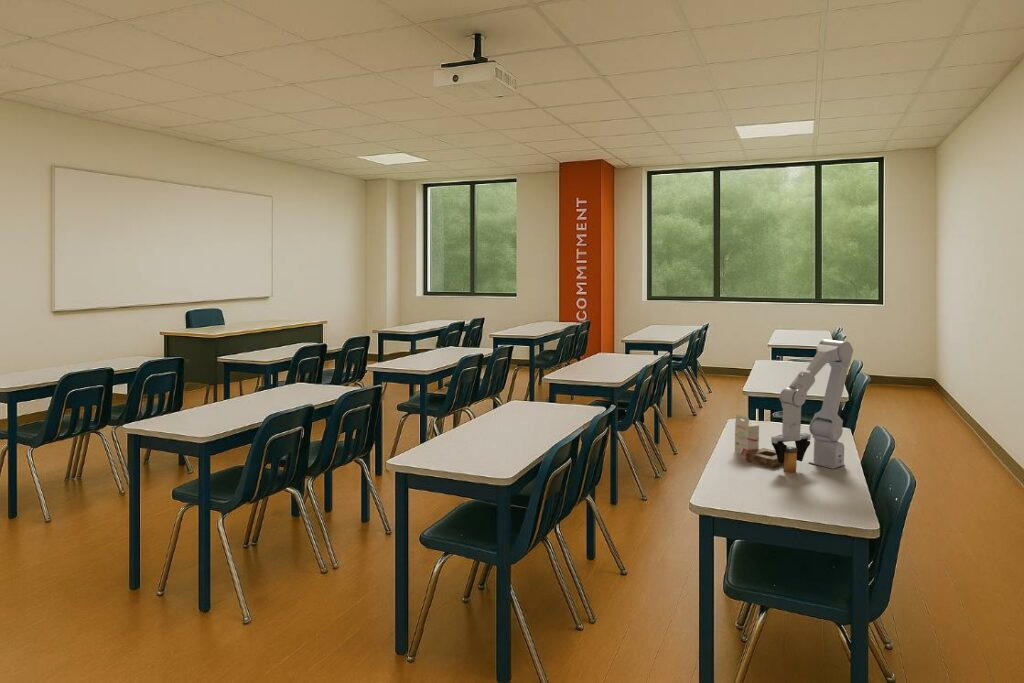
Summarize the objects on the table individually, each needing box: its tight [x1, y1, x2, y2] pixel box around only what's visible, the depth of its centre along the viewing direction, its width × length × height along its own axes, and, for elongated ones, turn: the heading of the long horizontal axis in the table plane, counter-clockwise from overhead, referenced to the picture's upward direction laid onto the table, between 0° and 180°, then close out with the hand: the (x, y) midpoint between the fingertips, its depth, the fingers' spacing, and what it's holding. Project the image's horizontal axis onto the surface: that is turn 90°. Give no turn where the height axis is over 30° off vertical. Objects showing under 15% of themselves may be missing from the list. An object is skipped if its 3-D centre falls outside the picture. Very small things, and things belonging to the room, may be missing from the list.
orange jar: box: [783, 446, 798, 474], centre depth 245 cm, size 4×4×8 cm
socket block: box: [745, 447, 784, 469], centre depth 256 cm, size 11×11×3 cm
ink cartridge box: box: [734, 413, 760, 457], centre depth 266 cm, size 9×5×15 cm, turn 17°
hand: (790, 461), depth 245 cm, fingers open, 7 cm apart
